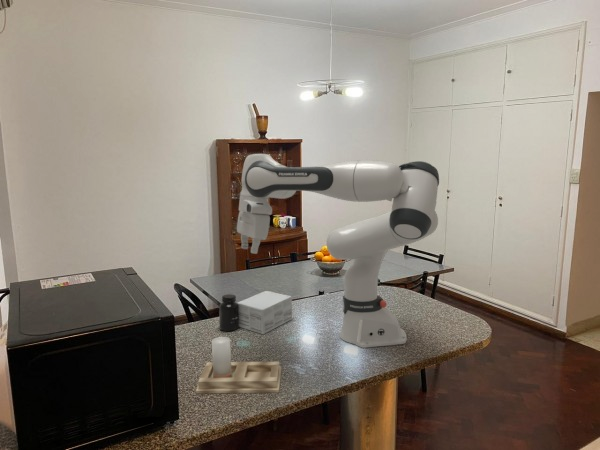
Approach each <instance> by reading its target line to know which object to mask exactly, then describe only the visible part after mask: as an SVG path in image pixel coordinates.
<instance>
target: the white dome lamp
mask: <svg viewBox="0 0 600 450" xmlns="http://www.w3.org/2000/svg"><path fill="white" fill-rule="evenodd" d="M231 350H232V349H231V338H230V337H227V336H218V337H217V336H216V337H214V338H213V339H211V351H212V362H213V378H232V369H231V362H232V356H231V355H232V354H231V353H232V352H231Z"/></svg>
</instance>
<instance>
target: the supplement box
mask: <svg viewBox="0 0 600 450" xmlns="http://www.w3.org/2000/svg"><path fill="white" fill-rule="evenodd" d="M236 303H237V304H238V328H241V329H243V330H244V329H245V330H248V331H251V332H255V333H258V334H261V335H265V334H267V333H270V332H271V331H272V330H274V329H276V328H277V327H280V326H281V325H284V324H286V323H288V322H290V321H292V320H293V304H292V303H293V299H292V296H291V295H288V294H284V293H282V294H281V293H277V292H273V291H270V290H264V291H262V292H259V293H257V294H255V295H252V296H250V297H248V298H245V299H242V300H241V301H237V302H236Z"/></svg>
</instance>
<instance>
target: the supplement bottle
mask: <svg viewBox="0 0 600 450" xmlns="http://www.w3.org/2000/svg"><path fill="white" fill-rule="evenodd" d="M236 301H237V298H236V295H235V294H229V293H228V294H227V293H226V294H223V295H222V298H221V303H220V304H219V313H218V314H219V318H218V319H219V329H220V331H223V332H234V331H236V330H237V329H238V328H239V327H238V304H237V302H236Z"/></svg>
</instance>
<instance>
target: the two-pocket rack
mask: <svg viewBox="0 0 600 450" xmlns="http://www.w3.org/2000/svg"><path fill="white" fill-rule="evenodd" d="M231 369H232V378H213V361H212V362H211V361H210V362H209V361H208V362H206V364H205V366H204V369H203V371H202V373H201V375H200V376H199V379H198V381H197V384H198V385H197V387H196V389H195V394H258V393H259V394H262V393H263V394H271V393H272V394H275V393H276V394H278V393H279V392H280V385H281V375H282V365H281V366H280V361H231Z"/></svg>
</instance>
